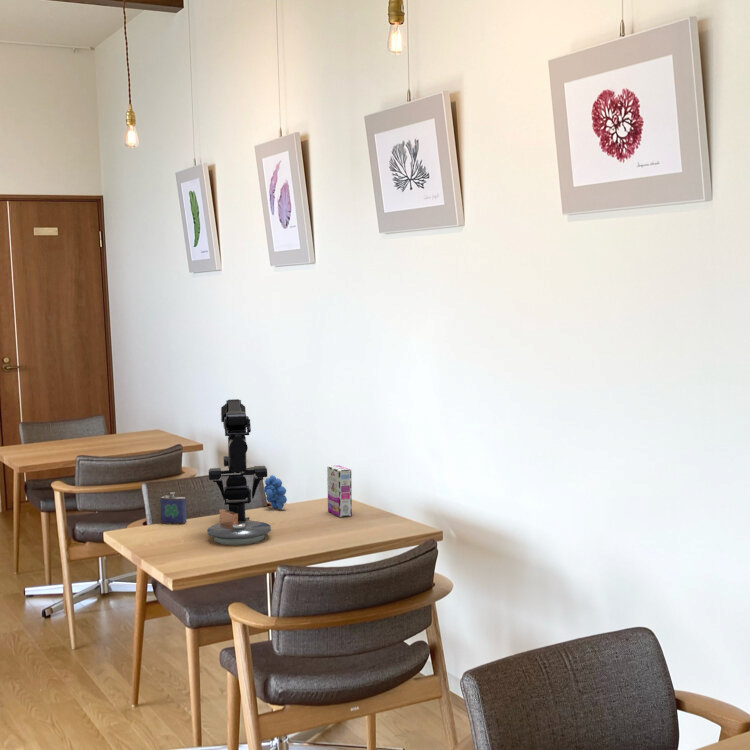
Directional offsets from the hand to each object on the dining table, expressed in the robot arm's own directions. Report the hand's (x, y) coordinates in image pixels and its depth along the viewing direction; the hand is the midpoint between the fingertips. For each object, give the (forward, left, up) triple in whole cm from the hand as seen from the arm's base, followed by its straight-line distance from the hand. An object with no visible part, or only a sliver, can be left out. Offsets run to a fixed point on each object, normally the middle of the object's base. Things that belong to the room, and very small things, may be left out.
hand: (238, 498), depth 319 cm
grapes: (-35, -3, -11) cm, 36 cm away
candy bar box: (-33, +23, -11) cm, 42 cm away
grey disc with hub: (+7, +3, -9) cm, 12 cm away
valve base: (+7, +3, -11) cm, 14 cm away
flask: (-7, -28, -11) cm, 31 cm away
